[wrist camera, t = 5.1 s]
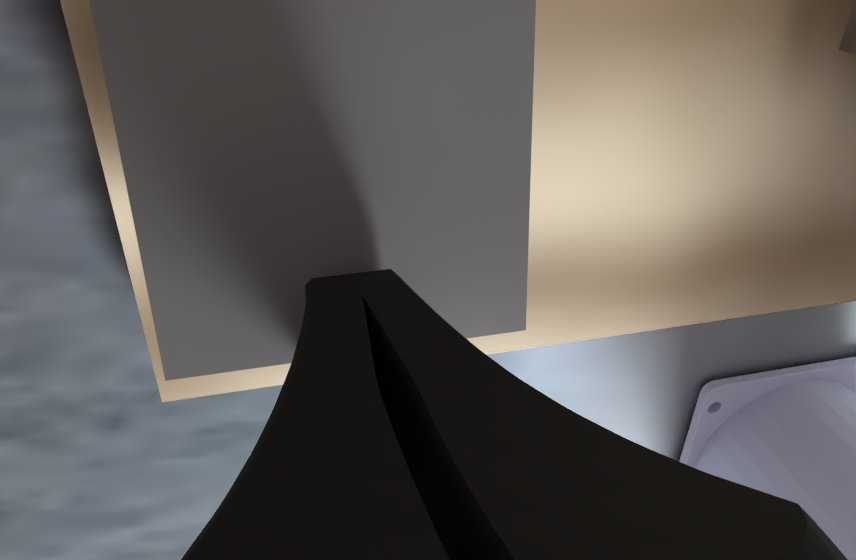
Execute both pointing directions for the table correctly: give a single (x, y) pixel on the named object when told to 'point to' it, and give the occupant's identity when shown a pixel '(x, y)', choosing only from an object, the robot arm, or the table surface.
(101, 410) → the table surface
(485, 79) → the rocker
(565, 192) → the switch panel
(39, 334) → the table surface
